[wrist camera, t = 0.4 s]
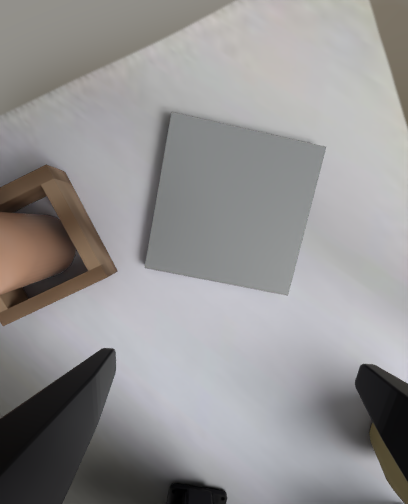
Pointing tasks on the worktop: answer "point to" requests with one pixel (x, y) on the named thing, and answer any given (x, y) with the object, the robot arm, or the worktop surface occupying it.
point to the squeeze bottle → (389, 465)
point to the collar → (77, 227)
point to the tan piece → (32, 249)
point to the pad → (232, 204)
